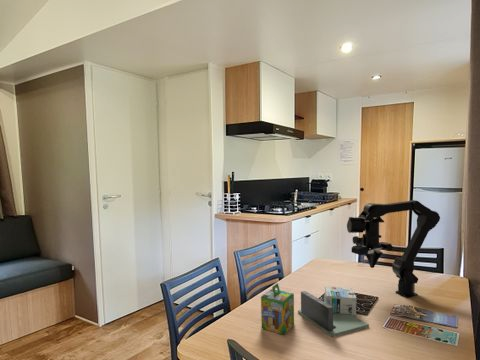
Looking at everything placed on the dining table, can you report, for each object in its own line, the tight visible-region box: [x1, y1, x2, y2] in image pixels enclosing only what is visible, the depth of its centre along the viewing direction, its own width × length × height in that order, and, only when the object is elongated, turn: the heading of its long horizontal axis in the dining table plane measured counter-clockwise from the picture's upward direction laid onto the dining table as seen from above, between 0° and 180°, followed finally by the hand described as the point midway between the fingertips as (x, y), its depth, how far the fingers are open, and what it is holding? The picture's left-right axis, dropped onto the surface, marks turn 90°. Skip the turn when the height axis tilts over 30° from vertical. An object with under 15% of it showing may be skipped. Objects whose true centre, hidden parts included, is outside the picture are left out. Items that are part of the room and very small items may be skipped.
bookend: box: [300, 290, 336, 332], centre depth 116 cm, size 4×16×8 cm, turn 24°
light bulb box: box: [323, 285, 357, 316], centre depth 126 cm, size 11×7×11 cm
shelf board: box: [297, 309, 370, 338], centre depth 119 cm, size 16×20×1 cm
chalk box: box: [260, 282, 295, 336], centre depth 114 cm, size 9×9×15 cm
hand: (372, 267), depth 141 cm, fingers closed
